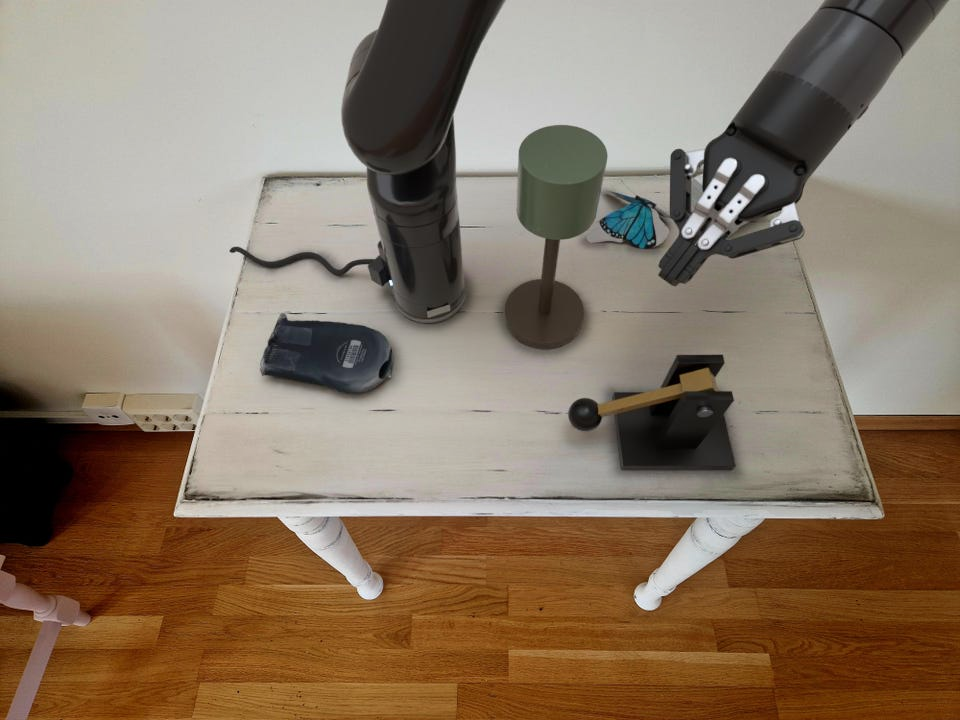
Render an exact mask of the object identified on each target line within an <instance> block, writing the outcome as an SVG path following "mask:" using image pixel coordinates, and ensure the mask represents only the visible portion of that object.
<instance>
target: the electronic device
mask: <svg viewBox="0 0 960 720" xmlns="http://www.w3.org/2000/svg"><path fill="white" fill-rule="evenodd" d="M393 361H394V355H393V348H392V346H391V344H390V341H389V340H388V339H387V337H386V336H385V335H384V334H383V333H381V332H380V331H379V330H377V329H373V328H371V327H369V326H365V325H362V324H355V323H347V322H341V321H326V320H325V321H324V320H322V321H321V320H289V319H288V317H287V314H286V313H283V312H281V313H279V316H278V319H277V321H276V323H275V325H274V329H273V331H272V332H271V334H270V335H269V338H268V339H267V346H266V347H265V349H264V351H263V353H262V357H261V359H260V362H259V372H260V374H261V377H264V376H269V377H274V378H280V379H282V380H283V379H284V380H289V381H295V382H299V383H305V384H311V385H317V386H322V387H327V388H330V389H333V390H335V391H338V393H345V394H349V395H356V394H357V395H358V394H362V393H365V392H368V391H371V390H373V389H374V388H376V387H377V386H378V385H380V384H381V383H382V382H383V381H384V380H385V379H386V378H389V379H391V378H392V375H391V373H392V372H391V371H392V368H393Z"/></svg>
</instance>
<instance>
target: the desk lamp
mask: <svg viewBox="0 0 960 720" xmlns="http://www.w3.org/2000/svg"><path fill="white" fill-rule="evenodd" d="M517 156H518V159H517V183H516V188H517V189H516V210H515V211H516V216H517V219H518V221H519V223H520V224H521V226H522V227H524V229H526V230H527V231H528V232H529V233H531V234H533V235H535V236H537V237H539V238H541V239H542V238H543V239H544V246H543V248H544V249H543V256H542V267H541V275H540V278H538V279H537V278H536V279H531V280H527V281H525V282H523V283H521V284H519V285H518V286H517V287H515V288H514V289H513V290H512V291H511V292H510V294H509V295H508V296H507V298H506V301H505V304H504V323H505V326H506V328H507V330H508V332H509V334H510V335H511V336H512V337H513V338H514V339H515V340H516V341H518V342H519V343H520V344H522V345H524V346H526V347H529V348H532V349H537V350H545V351H546V350H554V349H558V348H561V347H563V346H566V345H568V344H569V343H571V342H572V341H573V340H575V338H576V337H578V334H579V333H580V331H581V329H582V326H583V322H584V317H585V308H584V307H585V306H584V303H583V301H582V299H581V297H580V296H579V294H578V293H577V291H575V289H573V288H572V287H570V286H569V285H567V284H565V283H564V282H561V281H558V280H556V274H557V267H558V259H559V251H560V246H561V245H560V243H561V240H569V239H573V238H576V237H579V236H581V235H583V234H584V233H586V232H588V230H589V229H590V228H591V227H592V226H593V225H594V223H595V220H596V217H597V212H598V208H599V204H600V198H601V193H602V189H603V182H604V177H605V174H606V167H607V164H608V157H609V156H608V150H607V147H606V145H605V143H604V142H603V141H602V140H601V139H600V137H598V136H597V135H596V134H595V133H593V132H591V131H589V130H587V129H585V128H582V127H579V126H575V125H569V124H554V125H547V126H544V127H540V128H537V129H536V130H534V131H532V132H531V133H529V134H528V135H527V136H526V137H525V138H524V139H523V140H522V142H521V143H520V145H519V148H518V155H517Z"/></svg>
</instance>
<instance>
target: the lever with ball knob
mask: <svg viewBox="0 0 960 720" xmlns="http://www.w3.org/2000/svg"><path fill="white" fill-rule="evenodd" d="M680 381H681V383H680V384H676V385H672V386H668V387H664V388H660V387H659V388H658V389H652V390H649V391H644V392H645V393H641V394H637V395H633V396H629V397H626V398H622V399H618V400H614V401H613V400H611V401H607V402H603V403H598V402H597V401H596V400H594V399H592V398H590V397H581V398H578V399H576V400H574V401H573V402H572V403H571V405H570V406H569V409H568V413H567V417H568V420H569V423H570V425H571V426H572V427H573V428H574V429H576V430H577V431H580V432H584V433H585V432H592V431H594V430H595V429H597V428H598V427H599V426H600V424H601V423H602V421H603V418H606V417H609V416H613V415H614V416H615V414H618V413H622V412H626V411H630V410H634V409H638V408H642V407H646V406H650V405H654V404H658V403H662V402H666V401H671V400H675V399H679V398H681V396H682V394H683V393H684V391H719V390H718V385H717V381H716V377H714V375H713V374H712V372H711V371H710V369H709V368H704V369H701V370H697V371H693V372H689V373H686V374H682V375H680Z"/></svg>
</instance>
